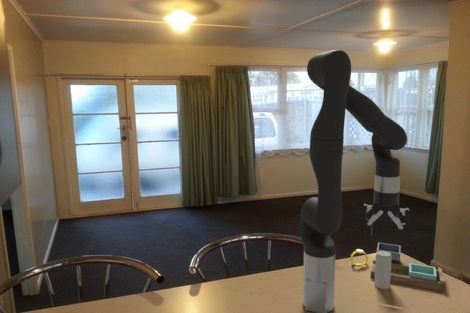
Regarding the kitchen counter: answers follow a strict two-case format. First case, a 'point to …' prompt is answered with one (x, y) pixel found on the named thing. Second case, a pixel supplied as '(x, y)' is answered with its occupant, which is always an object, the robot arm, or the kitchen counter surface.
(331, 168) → the robot arm
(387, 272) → the beverage can
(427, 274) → the box
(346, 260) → the kitchen counter surface
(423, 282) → the bay
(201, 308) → the kitchen counter surface
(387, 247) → the open metal box
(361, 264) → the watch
